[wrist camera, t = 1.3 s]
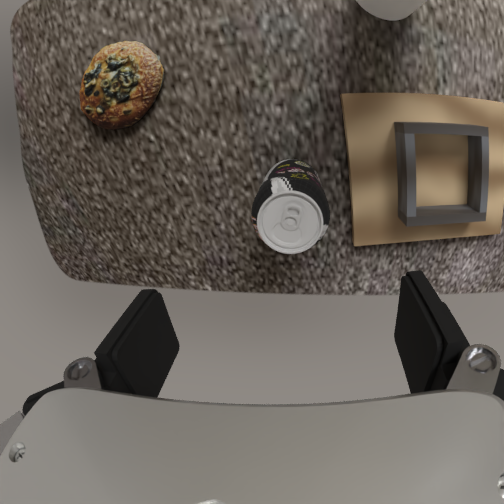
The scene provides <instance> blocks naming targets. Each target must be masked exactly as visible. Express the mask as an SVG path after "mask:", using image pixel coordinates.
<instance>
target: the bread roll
mask: <svg viewBox="0 0 504 504" xmlns="http://www.w3.org/2000/svg"><path fill="white" fill-rule="evenodd" d="M160 62H161V61H160V57H159V56H158V57H157V55H155V54H154V53H153V52H152V51H151V50H150V49H149V48H148V47H146V46H145V45H144V44H142V43H139V42H136V41H134V42H128V41H124V42H118V43H116V44H111V45H109V46H105V47H104V48H102V49H101V50H100V52H99V53H97V54H96V55H95V56H94V57H93V59H92V62H91V64H90V65H89V67H88V69H87V70H86V71H85V73H84V76H83V79H82V83H81V89H80V101H81V110H82V111H83V113H85V115H86V116H87V117H88V118H89V119H90V121H92V122H93V123H94V124H96V125H98V126H100V127H101V128H104V129H112V130H113V129H121V128H127V127H130V126H131V125H134V124H135V123H137V122H138V121H139V120H140V119H141V118H142V117H144V115H145V114H146V113H147V112H148V111H149V109H150V108H151V106H152V105H153V103H154V102H155V101H156V97H157V95H158V93H159V90H160V89H161V87H162V84H163V80H164V68H163V67H162V64H161V63H160Z"/></svg>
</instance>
